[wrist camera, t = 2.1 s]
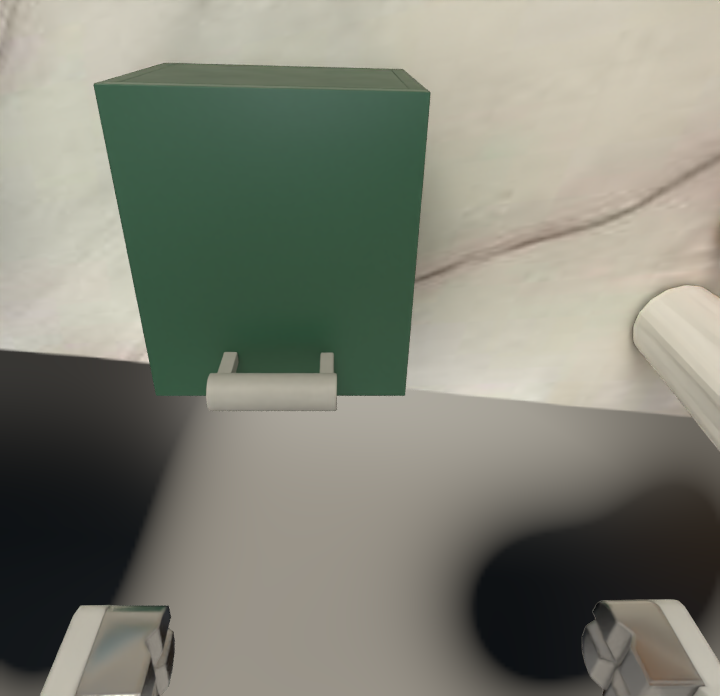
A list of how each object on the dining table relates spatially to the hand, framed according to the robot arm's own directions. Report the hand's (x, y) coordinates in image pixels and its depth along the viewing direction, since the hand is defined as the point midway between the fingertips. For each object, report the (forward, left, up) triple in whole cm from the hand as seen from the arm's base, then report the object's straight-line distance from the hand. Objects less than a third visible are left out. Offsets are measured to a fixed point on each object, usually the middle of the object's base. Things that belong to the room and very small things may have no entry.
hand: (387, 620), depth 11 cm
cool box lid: (+4, 0, -19) cm, 20 cm away
